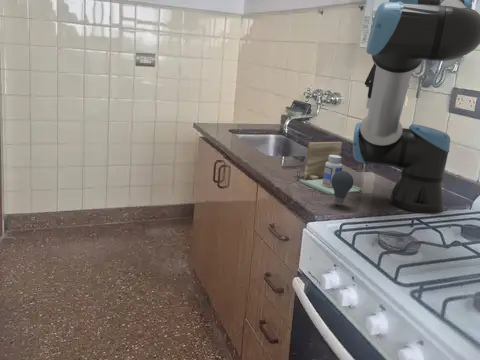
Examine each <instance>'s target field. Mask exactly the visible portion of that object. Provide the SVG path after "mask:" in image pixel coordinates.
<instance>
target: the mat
mask: <svg viewBox="0 0 480 360" xmlns="http://www.w3.org/2000/svg"><path fill="white" fill-rule="evenodd" d="M299 183H301V184H303V185H305V186H308V187H310V188H312V189H314V190H316V191H320V192H321V193H323V194H326V195H329V196H333V195H334V189H333V188H332V187H327V186H324V185H323V178H318V180H312V179H307V180H305V179H299ZM362 191H363V188H361V187H358V186H356V185H354V184H353V186H352V188H351V189H350V190H349V191H348V193H347V194H349V193H350V194H351V193H359V192H362Z"/></svg>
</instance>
